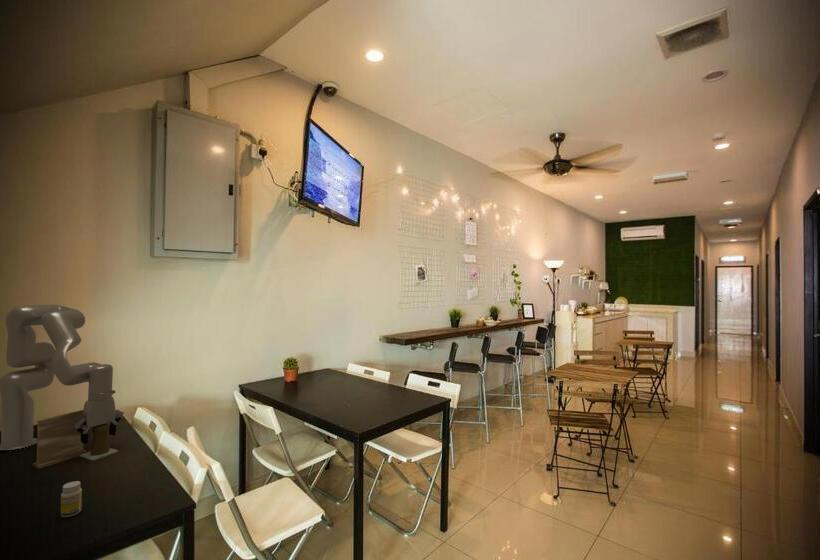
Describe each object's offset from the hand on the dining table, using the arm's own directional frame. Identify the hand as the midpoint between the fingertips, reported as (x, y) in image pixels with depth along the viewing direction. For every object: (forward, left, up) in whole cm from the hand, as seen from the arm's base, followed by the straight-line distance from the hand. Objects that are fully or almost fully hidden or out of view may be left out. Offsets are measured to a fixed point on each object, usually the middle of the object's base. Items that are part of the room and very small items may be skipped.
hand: (98, 438), depth 156 cm
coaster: (0, 0, -6) cm, 6 cm away
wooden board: (-8, -9, -6) cm, 13 cm away
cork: (0, 0, -6) cm, 6 cm away
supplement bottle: (+39, -27, -6) cm, 48 cm away
